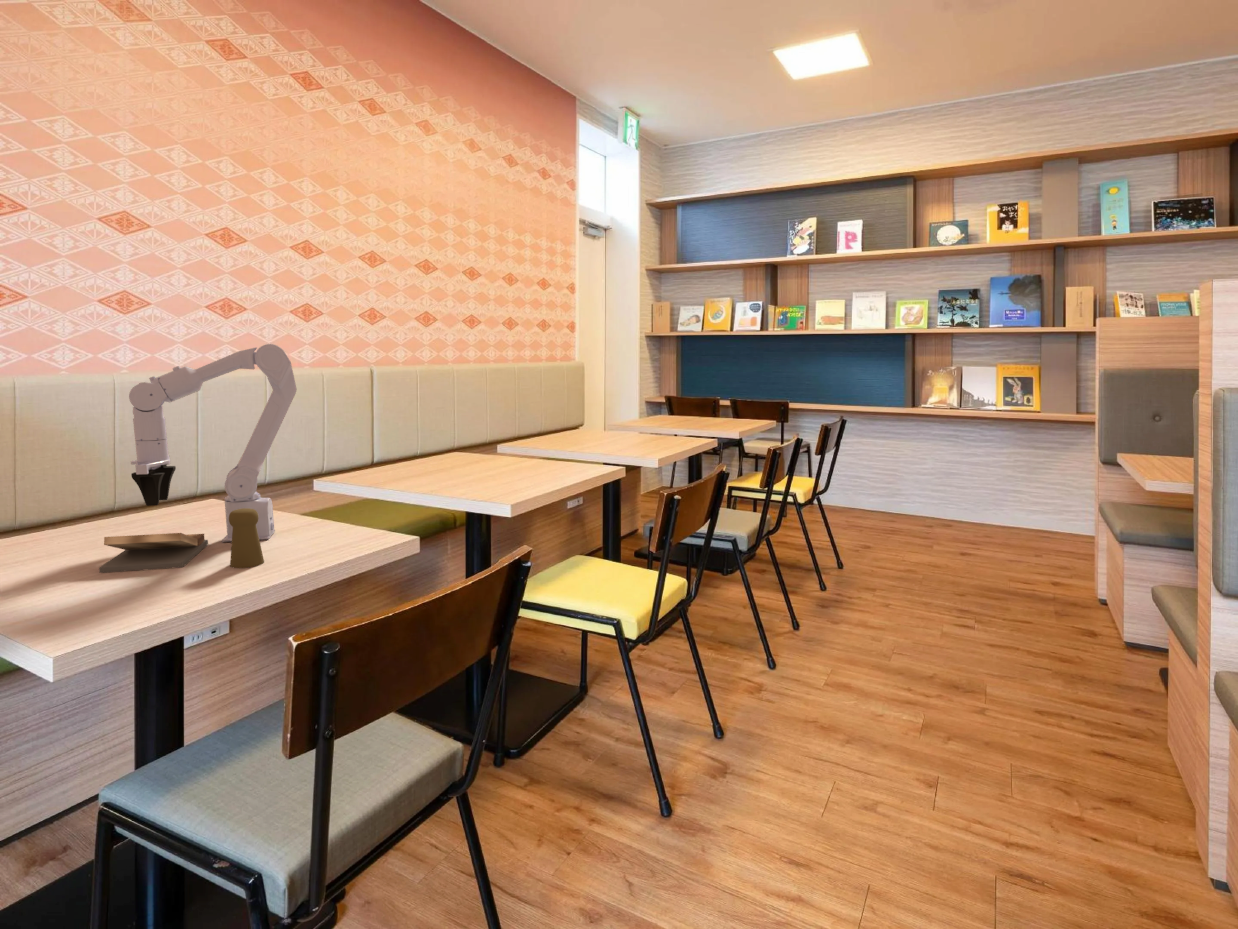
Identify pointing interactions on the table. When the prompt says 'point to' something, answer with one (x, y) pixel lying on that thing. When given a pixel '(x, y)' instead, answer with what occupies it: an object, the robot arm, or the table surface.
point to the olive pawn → (245, 539)
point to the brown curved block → (198, 537)
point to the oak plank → (151, 541)
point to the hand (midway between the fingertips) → (157, 502)
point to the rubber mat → (152, 558)
